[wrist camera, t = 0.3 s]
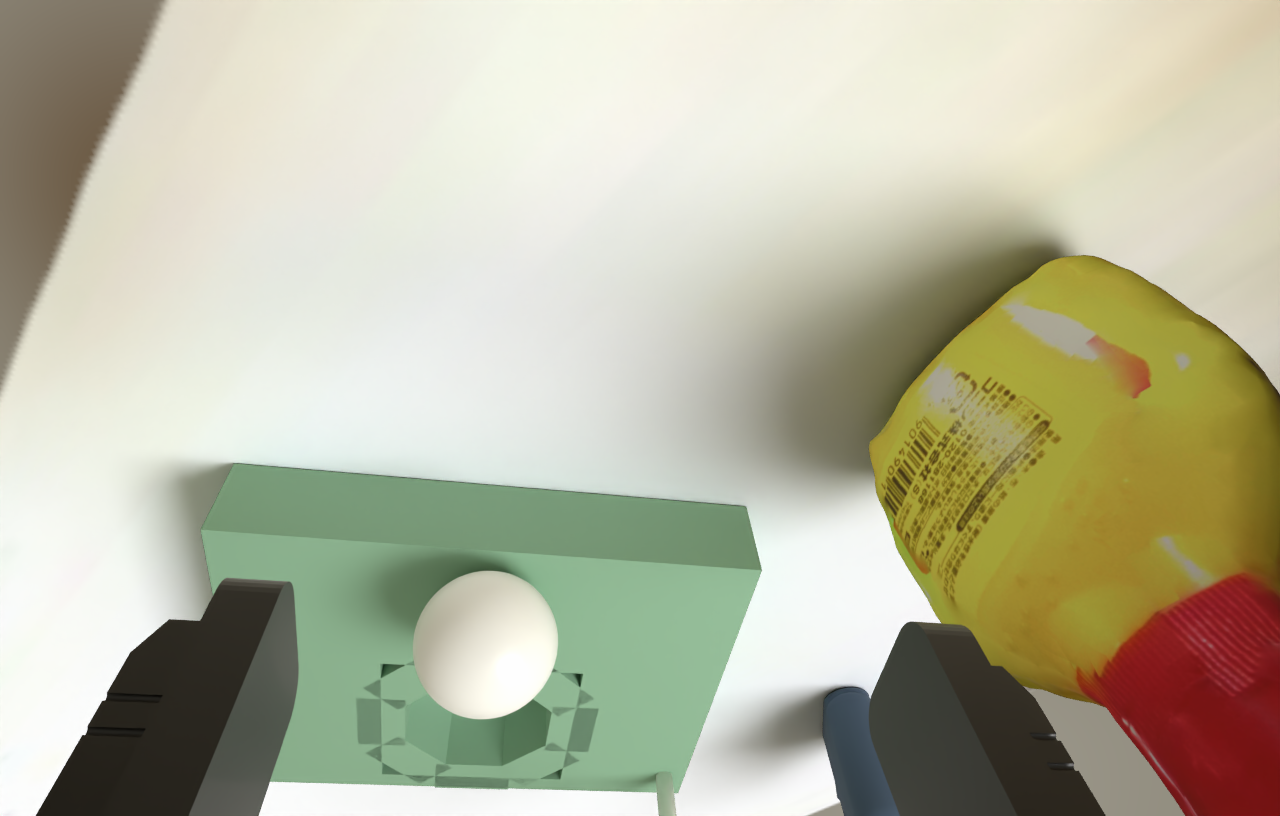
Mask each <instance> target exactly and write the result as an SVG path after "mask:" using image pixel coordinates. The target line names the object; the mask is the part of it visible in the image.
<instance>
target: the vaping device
mask: <svg viewBox="0 0 1280 816" xmlns="http://www.w3.org/2000/svg"><path fill="white" fill-rule="evenodd" d="M870 700H871V699H870V698H869V695H868V693H867V692H866V691H865V690H862V689H860V688H853V687H850V688H842V689H839V690H836V691H834V692H832V693H830V694H829V695H828V696H827V697H826V698H825V700H824V709H823V738H824V742H825V745H826V749H827V753H828V757H829V760H830V764H831V768H832V772H833V775H834V779H835V784H836V792H837V797H838V799H839V800H840V802H841V806H842V809H843V813H844V816H900V815H899V812H898V810H897V807H896V804H895V802H894V799H893V796H892V794H891V791H890V788H889V786H888V783H887V780H886V778H885V775H884V772H883V770H882V767H881V764H880V762H879V759H878V756H877V754H876V751H875V748H874V745H873V742H872V739H871V735H870V729H869V705H870Z"/></svg>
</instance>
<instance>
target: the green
mask: <svg viewBox="0 0 1280 816" xmlns="http://www.w3.org/2000/svg"><path fill="white" fill-rule="evenodd" d="M201 535H202V540H203V546H204V551H205V556H206V561H207V567H208V572H209V577H210V583H211V588H212V593H213V595H214V593H215V591H216V589H217V587H218V586H219V584H220V583H221V581H222V580H224V579H225V578H241V579H257V580H273V581H289V582H291V583H292V585H293V589H294V600H295V615H296V631H297V647H298V662H299V675H298V686H297V693H296V699H295V704H294V708H293V712H292V716H291V719H290V723H289V726H288V729H287V732H286V735H285V738H284V741H283V744H282V747H281V750H280V753H279V756H278V759H277V762H276V765H275V768H274V771H273V774H272V777H271V780H270V782H302V783H338V784H374V785H409V786H435V787H440V788H476V789H508V788H516V789H552V790H587V791H623V792H657V800H658V811H659V816H676V808H675V798H674V793H678V792H679V789H680V786H681V784H682V781H683V778H684V776H685V773H686V770H687V768H688V765H689V762H690V760H691V757H692V755H693V752H694V749H695V747H696V744H697V741H698V739H699V736H700V733H701V731H702V728H703V725H704V723H705V720H706V717H707V715H708V712H709V709H710V707H711V704H712V701H713V699H714V696H715V693H716V691H717V688H718V686H719V683H720V680H721V678H722V675H723V672H724V670H725V667H726V664H727V662H728V659H729V656H730V654H731V651H732V648H733V646H734V643H735V640H736V638H737V635H738V632H739V630H740V627H741V624H742V622H743V619H744V617H745V614H746V611H747V609H748V606H749V603H750V601H751V598H752V595H753V593H754V590H755V587H756V585H757V582H758V579H759V577H760V574H761V571H762V569H761V565H760V561H759V557H758V553H757V548H756V544H755V540H754V536H753V532H752V528H751V524H750V520H749V516H748V512H747V508H746V507H744V506H732V505H720V504H708V503H696V502H685V501H673V500H661V499H649V498H637V497H625V496H614V495H602V494H590V493H578V492H566V491H554V490H542V489H531V488H519V487H507V486H495V485H483V484H471V483H460V482H448V481H436V480H424V479H412V478H400V477H389V476H377V475H365V474H353V473H341V472H329V471H317V470H306V469H294V468H282V467H270V466H258V465H246V464H235V463H234V464H233V466H232V468H231V470H230V472H229V474H228V476H227V478H226V480H225V482H224V484H223V486H222V488H221V490H220V492H219V494H218V496H217V498H216V500H215V502H214V504H213V506H212V508H211V510H210V512H209V514H208V516H207V518H206V520H205V522H204V524H203V526H202V528H201ZM478 571H500V572H505V573H509V574H512V575H515V576H517V577H519V578H521V579H523V580H524V581H526V582H528V583H529V584H531V585H532V586H533V587H534V588H535V589H536V590H537V591H538V592H539V593H540V594H541V595H542V596H543V597H544V599H545V600H546V602H547V603H548V605H549V607H550V609H551V611H552V613H553V616H554V619H555V622H556V626H557V632H558V649H557V657H556V661H555V664H554V668H553V670H552V672H551V675H550V677H549V679H548V680H547V682H546V684H545V685H544V687H543V688H542V689H541V691H540V692H539V693H538V694H537V695H536V696H535V697H534V698H533V699H532V700H531V701H530V702H528V703H527V704H526V705H525V706H523V707H522V708H520V709H518V710H517V711H514V712H512V713H510V714H508V715H505V716H502V717H498V718H492V719H471V718H466V717H462V716H459V715H456V714H454V713H451V712H450V711H448V710H446V709H445V708H443V707H442V706H440V705H439V704H438V703H437V702H435V701H434V700H433V699H432V698H431V697H430V696H429V694H428V693H427V692H426V690H425V689H424V687H423V686H422V684H421V682H420V680H419V677H418V675H417V672H416V669H415V665H414V660H413V638H414V632H415V628H416V625H417V622H418V619H419V617H420V615H421V613H422V611H423V609H424V608H425V606H426V605H427V603H428V602H429V600H430V599H431V598H432V597H433V596H434V595H435V594H436V593H437V592H438V591H439V590H440V589H441V588H442V587H443V586H445V585H446V584H448V583H449V582H451V581H452V580H454V579H456V578H458V577H461V576H463V575H466V574H469V573H473V572H478Z"/></svg>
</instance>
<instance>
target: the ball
mask: <svg viewBox="0 0 1280 816" xmlns="http://www.w3.org/2000/svg"><path fill="white" fill-rule="evenodd" d="M557 649H558V632H557V626H556V622H555V619H554V616H553V613H552V611H551V609H550V607H549V605H548V603H547V602H546V600H545V599H544V597H543V596H542V595H541V594H540V593H539V592H538V591H537V590H536V589H535V588H534V587H533V586H532V585H531V584H529V583H528V582H526V581H524V580H523V579H521V578H519V577H517V576H515V575H512V574H509V573H505V572H500V571H478V572H473V573H469V574H466V575H463V576H461V577H458V578H456V579H454V580H452V581H451V582H449V583H448V584H446V585H445V586H443V587H442V588H441V589H440V590H439V591H438V592H437V593H436V594H435V595H434V596H433V597H432V598H431V599H430V600H429V602H428V603H427V605H426V606H425V608H424V609H423V611H422V613H421V615H420V617H419V619H418V622H417V625H416V628H415V632H414V638H413V660H414V665H415V669H416V672H417V675H418V677H419V680H420V682H421V684H422V686H423V687H424V689H425V690H426V692H427V693H428V694H429V696H430V697H431V698H432V699H433V700H434V701H435V702H437V703H438V704H439V705H440V706H442V707H443V708H445V709H446V710H448V711H450V712H451V713H454V714H456V715H459V716H462V717H466V718H471V719H492V718H498V717H502V716H505V715H508V714H510V713H512V712H514V711H517V710H518V709H520V708H522V707H523V706H525V705H526V704H527V703H528V702H530V701H531V700H532V699H533V698H534V697H535V696H536V695H537V694H538V693H539V692H540V691H541V689H542V688H543V687H544V685H545V684H546V682H547V680H548V679H549V677H550V675H551V672H552V670H553V668H554V664H555V661H556V657H557Z"/></svg>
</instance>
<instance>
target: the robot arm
mask: <svg viewBox="0 0 1280 816" xmlns="http://www.w3.org/2000/svg"><path fill="white" fill-rule="evenodd" d="M298 675H299V662H298V647H297V631H296V615H295V600H294V589H293V585H292V583H291V582H289V581H273V580H257V579H241V578H225V579H224V580H222V581H221V583H220V584H219V586H218V587H217V589H216V591H215V593H214V595H213V597H212V599H211V601H210V603H209V605H208V607H207V609H206V611H205V613H204V615H203V617H202V619H201V621H189V620H171V619H169V620H168V621H167V622H166V623H165V624H163V625H162V626H161V627H160V628H159V629H157V630H156V631H155V632H154V633H153V634H152V635H150V636H149V637H148V638H147V639H146V640H145V641H143V642H142V643H141V644H140V645H139V646H138V647H136V648H135V649H134V650H133V651H132V652H130V654H129V656H128V658H127V659H126V661H125V663H124V664H123V666H122V668H121V670H120V671H119V673H118V675H117V677H116V678H115V680H114V682H113V683H112V685H111V687H110V689H109V690H108V692H107V698H106V700H105V701H102V702H101V704H100V706H99V708H98V709H97V711H96V713H95V715H94V716H93V718H92V720H91V721H90V723H89V725H88V730H87V733H86V735H82V737H81V739H80V740H79V742H78V744H77V746H76V747H75V749H74V751H73V752H72V754H71V756H70V758H69V759H68V761H67V763H66V765H65V766H64V768H63V770H62V771H61V773H60V775H59V777H58V778H57V780H56V782H55V784H54V785H53V787H52V789H51V790H50V792H49V794H48V796H47V797H46V799H45V801H44V802H43V804H42V806H41V808H40V809H39V811H38V813H37V815H36V816H258V815H259V812H260V809H261V806H262V803H263V800H264V797H265V794H266V791H267V789H268V786H269V783H270V780H271V777H272V774H273V771H274V768H275V765H276V762H277V759H278V756H279V753H280V750H281V747H282V744H283V741H284V738H285V735H286V732H287V729H288V726H289V723H290V719H291V716H292V712H293V708H294V704H295V699H296V693H297V686H298ZM869 729H870V735H871V739H872V742H873V745H874V748H875V751H876V754H877V756H878V759H879V762H880V764H881V767H882V770H883V772H884V775H885V778H886V780H887V783H888V786H889V788H890V791H891V794H892V796H893V799H894V802H895V804H896V807H897V810H898V812H899V815H900V816H1105V814H1104V812H1103V811H1102V809H1101V807H1100V805H1099V804H1098V802H1097V800H1096V799H1095V797H1094V796H1093V794H1092V792H1091V791H1090V789H1089V788H1088V786H1087V784H1086V782H1085V781H1084V779H1083V777H1082V776H1081V774H1080V773H1079V771H1075V770H1074V762H1073V761H1072V759H1071V757H1070V756H1069V754H1068V752H1067V751H1066V749H1065V748H1064V746H1063V744H1062V743H1061V741H1057V740H1056V732H1055V731H1054V729H1053V727H1052V726H1051V724H1050V723H1049V721H1048V719H1047V717H1046V716H1045V714H1044V713H1043V711H1042V709H1041V708H1040V706H1039V704H1038V703H1037V701H1036V699H1035V698H1034V697H1033V696H1032V695H1031V694H1030V693H1029V692H1028V691H1027V690H1026V689H1025V688H1024V687H1023V686H1022V685H1021V684H1020V683H1019V682H1018V681H1017V680H1016V679H1015V678H1014V677H1013V676H1012V675H1011V674H1010V673H1009V672H1008V671H1007V670H1006V669H1004V668H1003V667H1002V666H991V664H990V662H989V661H988V659H987V657H986V655H985V654H984V652H983V650H982V648H981V647H980V645H979V643H978V641H977V640H976V638H975V636H974V635H973V633H972V632H971V631H970V630H969V629H968V628H967V627H966V626H963V625H957V624H941V623H925V622H908V623H906V624H905V625H904V626H903V627H902V629H901V631H900V632H899V635H898V637H897V639H896V641H895V644H894V646H893V648H892V651H891V653H890V655H889V657H888V660H887V662H886V664H885V666H884V669H883V671H882V673H881V675H880V678H879V680H878V682H877V684H876V687H875V689H874V691H873V694H872V696H871V700H870V705H869Z"/></svg>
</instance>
